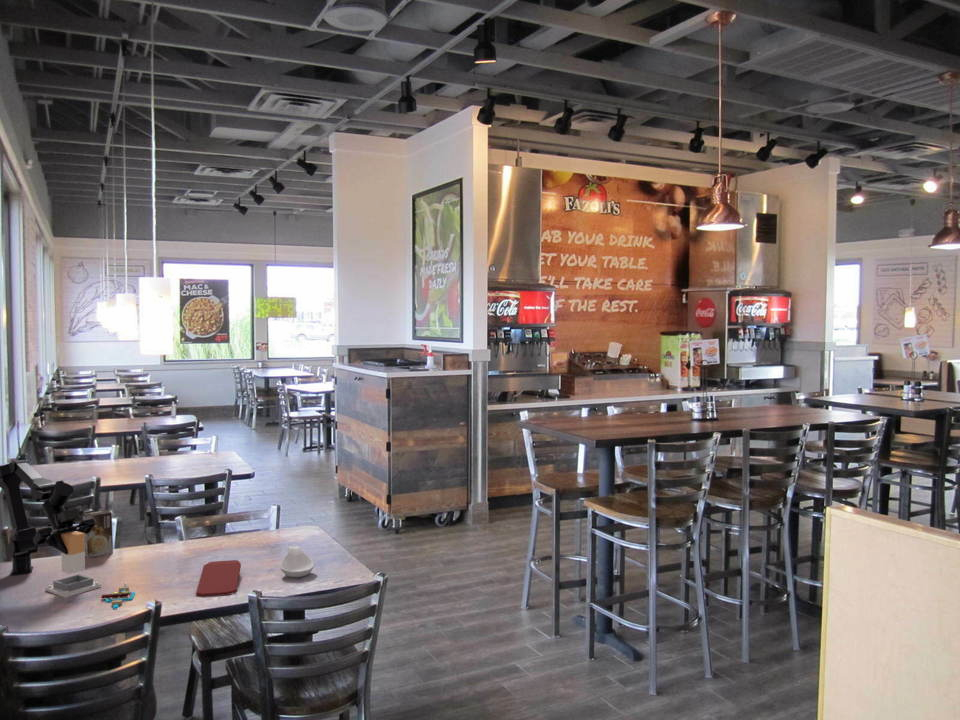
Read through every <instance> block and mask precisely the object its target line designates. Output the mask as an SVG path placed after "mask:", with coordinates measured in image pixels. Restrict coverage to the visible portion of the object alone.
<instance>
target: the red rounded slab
mask: <svg viewBox="0 0 960 720" xmlns="http://www.w3.org/2000/svg"><path fill="white" fill-rule="evenodd" d="M241 567H242V565H241V562H240V561H239V560H238V559H237V560H236V559H234V560H233V559H232V560H219V561H218V560H217V561H215V560H214V561H209V562H207V563H205V564H204V565H203V567H202V571H201V574H200V577H199V580H198V581H199V582H198V585H197V589H196V592H195V596H197V597H213V596H217V597H218V596H227V595H228V596H229V595H232V593H233V594H236V593H237V589H238V586H239V585H238V584H239V578H240V573H241Z"/></svg>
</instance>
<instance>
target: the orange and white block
mask: <svg viewBox="0 0 960 720" xmlns="http://www.w3.org/2000/svg"><path fill="white" fill-rule="evenodd" d="M61 538H62V540H63V542H64V544H65V546H66V548H67V550H68V554H67V555H66V554H64V553H63V552H61V551H60V552H61V555H60V556H61V572H63V573H66V574H69V575H72V574H77V573H79V572H83V571H86V556H85V533H82V532H78V531H74V532H70V533H65V534H61Z"/></svg>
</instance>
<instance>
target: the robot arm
mask: <svg viewBox="0 0 960 720" xmlns="http://www.w3.org/2000/svg"><path fill="white" fill-rule="evenodd" d="M22 481H23V482H24V484H26V486H28V488H29V489H30V493H29V494H30V496H31V498H32V500H34V501H35V502H37V503H39V502H43V503H42V505H41V508H40V513H44V514H45V517H46V518H47V520H48V522H47V525H48V527H43V528H38V530H37V528H36V527H33V526H30V525H29V522H28V518H27V514H26V509H25V505H24V500H23V496H22V493H21V487H20V486H21V483H22ZM0 489H1V490H2V491H3V492H4V497H5V501H6V506H7V510H8V514H9V519H10V523H11V526H12V527H11V528H12V529H11V533H10V535H9V543H8V545H7V546H6V548H5V550H4V553H5V557H7V558H10V559H12V560H11V566H12V569H11V571H10V573H9V574H10V575H11V576H12V575H13V576H14V575H22V574H29V573H32V571H33V569H34V566H32V554H36V553H38V549H39V546H40V545H44V544H45V545H46V546H50V547H53V548H55V549H57V550H58V551H60V552H63V553H64V554H66V555H67V554H68V550H67V548H66V546H65V544H64V542H63V540H62V538H61V534H65V533H70V532H74V531H78V532H82V533H85V534H88V533H90V532H91V531H92V529H93V528H94V526H95V525H96V522H95V520H94V519H93V518H89V519H84V520H83V519H81V520H80V522H79V524H76V525H75V523H76V522H77V521H76V520H77V519H79V518H81V516H83V514H84V513H85V512H84V509H83V507H82V506H81V505H78V506H75V507H73V508H72V509H71V508H70V509H67V510H66V508H65V505H66V504H67V503H68V502H69V500H70V498H71V497H72V495H73V494H74V492H75V491H74V486H72V485H71V484H69V483H66V482H64V480H57V481H55V482H54V481H53V480H51V479H47V478H44V477H42V476H41V474H39V473H38V472H37V471H36V469H34V468H33V466H31V465H30V463H29V461H28V460H27V459H19V460H13V461H10V462H9V463H5V464H2V465H0ZM49 526H51V527H49Z"/></svg>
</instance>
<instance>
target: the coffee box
mask: <svg viewBox="0 0 960 720" xmlns="http://www.w3.org/2000/svg"><path fill="white" fill-rule="evenodd" d="M112 515H113V514H112V512H111V511H110V510H108V509H106V510H99V511H91V512H84V514H83V515H82V520H84V519H89V518H93V519H94V520H95V522H96V525H95V526H94V528H93V529H92V531H91V532H90V533H88V534H85V558H94V557H99V556H100V557H101V556H105V555H111V554H114V544H113V543H114V542H113V517H112Z"/></svg>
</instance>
